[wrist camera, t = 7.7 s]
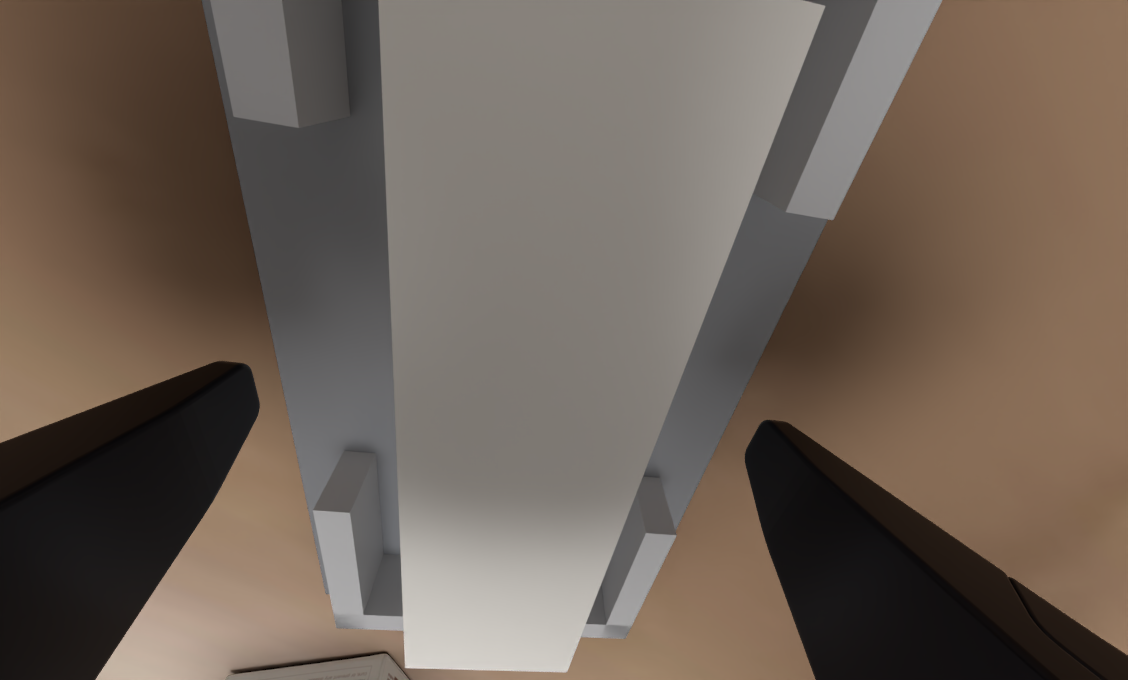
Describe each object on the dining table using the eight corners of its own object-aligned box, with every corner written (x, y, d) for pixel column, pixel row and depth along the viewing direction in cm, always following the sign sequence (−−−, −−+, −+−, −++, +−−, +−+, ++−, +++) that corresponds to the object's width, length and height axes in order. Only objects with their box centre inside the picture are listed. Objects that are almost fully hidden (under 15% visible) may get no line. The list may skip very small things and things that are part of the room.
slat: (685, 38, 7) (825, 5, 3) (560, 516, 13) (566, 672, 10) (462, -11, 6) (373, -104, 3) (441, 507, 13) (405, 667, 9)
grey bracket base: (1089, -384, 5) (1432, -670, 3) (634, 591, 17) (647, 664, 15) (81, -782, 4) (-424, -1716, 2) (333, 576, 15) (300, 654, 13)
